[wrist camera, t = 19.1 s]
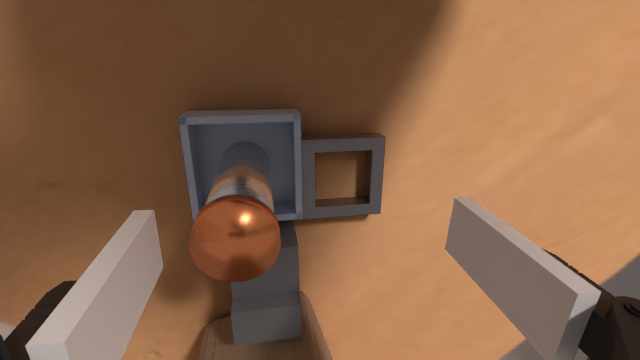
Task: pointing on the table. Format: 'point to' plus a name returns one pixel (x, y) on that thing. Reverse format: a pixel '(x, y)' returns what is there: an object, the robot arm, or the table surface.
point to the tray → (244, 126)
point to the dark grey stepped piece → (270, 298)
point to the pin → (237, 219)
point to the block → (274, 356)
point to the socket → (372, 179)
